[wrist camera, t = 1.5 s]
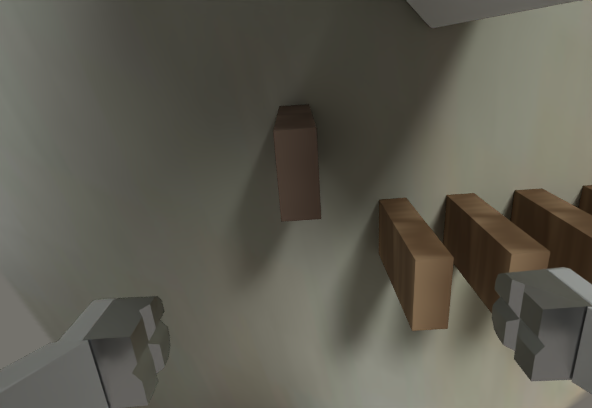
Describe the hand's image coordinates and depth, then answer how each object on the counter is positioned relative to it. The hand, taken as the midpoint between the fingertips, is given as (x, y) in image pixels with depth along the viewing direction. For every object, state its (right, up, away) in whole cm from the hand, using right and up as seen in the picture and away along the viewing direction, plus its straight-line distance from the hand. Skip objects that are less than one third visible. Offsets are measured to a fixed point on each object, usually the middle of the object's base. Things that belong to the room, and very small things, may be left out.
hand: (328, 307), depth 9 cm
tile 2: (+7, +1, +23) cm, 24 cm away
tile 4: (+18, +1, +23) cm, 29 cm away
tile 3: (+13, +1, +23) cm, 26 cm away
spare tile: (-1, +8, +20) cm, 22 cm away
